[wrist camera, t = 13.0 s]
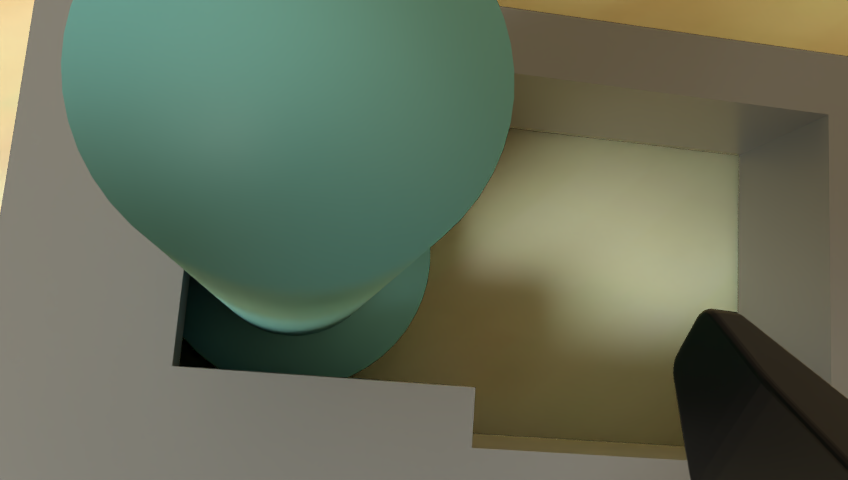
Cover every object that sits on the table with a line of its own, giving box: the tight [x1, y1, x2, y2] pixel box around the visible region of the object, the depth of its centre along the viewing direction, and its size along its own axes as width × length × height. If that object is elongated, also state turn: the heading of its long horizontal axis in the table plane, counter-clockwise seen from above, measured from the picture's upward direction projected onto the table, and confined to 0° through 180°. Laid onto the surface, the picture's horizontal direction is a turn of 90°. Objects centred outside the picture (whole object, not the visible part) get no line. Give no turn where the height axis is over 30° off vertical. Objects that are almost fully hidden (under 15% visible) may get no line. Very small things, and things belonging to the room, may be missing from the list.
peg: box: [61, 0, 514, 378], centre depth 13 cm, size 6×6×13 cm
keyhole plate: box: [0, 0, 848, 480], centre depth 18 cm, size 19×11×4 cm, turn 86°
